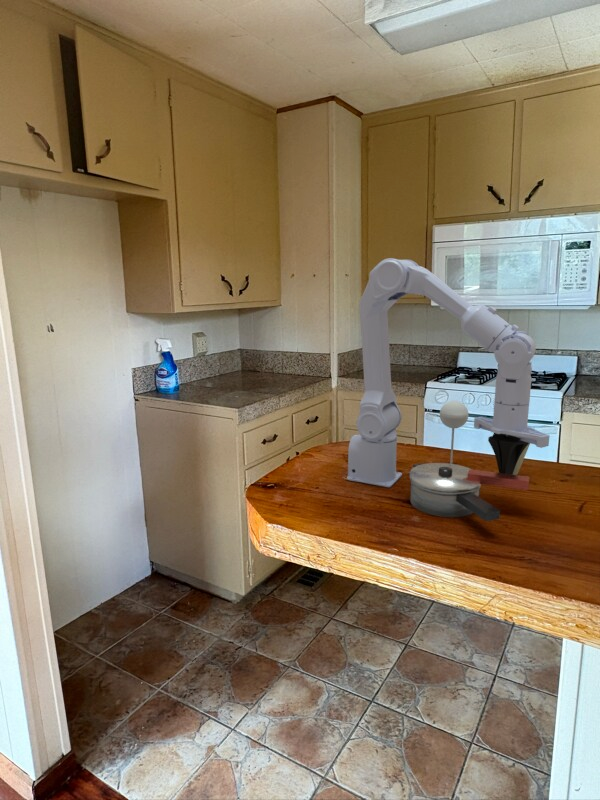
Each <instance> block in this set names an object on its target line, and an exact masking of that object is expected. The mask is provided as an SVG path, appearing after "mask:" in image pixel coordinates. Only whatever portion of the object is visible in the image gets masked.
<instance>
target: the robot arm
mask: <svg viewBox="0 0 600 800" xmlns="http://www.w3.org/2000/svg"><path fill="white" fill-rule="evenodd" d="M368 277H369V278H368V279H369V280H368V282H367V284H366V287H365V289H364V291H363V293H362V295H361V297H360V301H359V315H360V316H359V317H360V318H359V319H360V331H361V332H360V333H361V350H362V367H363V382H364V385H363V386H364V393H363V395H362V397H361V400H360V402H359V413H358V416H357V419H356V423H355V424H356V430H357V433H359V434H354V435H352V436H351V438H350V441H349V444H348V451H347V452H348V456H347V457H348V458H347V460H348V461H347V463H348V464H347V465H348V466H347V477H346V480H348V481H352V482H356V483H357V482H358V483H362V484H363V483H364V484H368V485H372V486H373V485H374V486H378V487H383V488H392V486H394V484H395V483H396V482H397V481H398V480H399V479H400V478H401V477H402V476H403V473H402V472H399V471H397V447H398V445H397V444H398V443H397V441H398V439H397V438H398V434H397V431H396V429H397V428H398V427H399V426H400V424H401V422H402V417H403V416H402V412H401V410H400V407H399V406H398V402H397V395H396V394H395V392H394V391H393V389H392V377H391V376H392V375H391V357H390V355H391V353H390V351H391V350H390V339H389V337H390V335H389V334H390V333H389V318H388V317H389V316H388V311H389V309H390V308H391V307H392V306H394V305H395V304H396V302H397V301H399V299H400V298H402V297H404V296H406V295H409V294H411V295H418V296H419V295H421V296H425V297H426V298H428V299H430V300H431V301H432V302H434V303H435V304H437V306H439V307H441V308H442V309H444V310H445V311H446V312H448V313H449V314H451V315H452V316H454V317H455V318H456V319H458V320H459V321H460V327H461V332H463V333H464V334H466V335H467V336H468V337H470V339H472V340H474V342H476V343H477V344H478V345H480V346H481V347H483V348H484V349H485V350H486V351H488V353H493V355H494V358H495V360H496V362H497V375H496V377H495V389H494V401H493V402H494V403H493V415H492V418H489V417H485V416H478V417H474V421H473V428H474V429H478V430H479V429H481V430H485V431H489V432H491V433H492V435H491V436H488V439H487V441H488V443H489V445H490V446H491V448H492V451H493V453H494V456H495V460H496V464H497V469H498V473H504V474H512V475H513V472H514V469H515V466H516V464H517V461H518V459H519V457H520V455H521V454H522V452H523V451H524V449H525V448H526V446H527V445H528V444H529V443H530V445H531V444H532V445H535V446H536V447H538V448H540V449H542V448H546V447H548V446H549V444H550V434H547V433H545V432H544V433H543V432H541V431H540V430H537V429H535V428H532V427H530V426H529V425H528V423H529V420H528V419H529V410H530V409H529V408H530V400H531V399H530V398H531V388H532V376H531V375H532V370H533V369H532V367H533V366H532V362H531V360H532V359H533V358H534V356H535V354H536V349H537V348H536V346H537V345H536V342H535V341H534V339H533V337H531V336H530V334H529V333H528V332H526V331H520V330H519V328H520V327H519V326H518V325H516V324H515V323H514V324H512V325H511V324H510V323H509V322H507V321H506V320H505V319H503V318H502V317H501V316H499V315H498V314H497V313H496V312H498V311H497V310H498V309H497V308H495V307H494V306H493V305H491V306H488V307H487V306H486V305H484V304H479V305H472V304H471V303H470V302H469V301H467V300H466V299H465V298H464V297H462V296H461V295H460V294H458V293H457V292H456V291H455V290H454V289H453V288H451V287H450V286H449V285H447V283H445V282H444V281H443V280H441V279H440V278H439V277H438V276H436V275H435V274H434V273H433V272H431V271H430V270H429V269H428V268H425V267H424V266H420V265H419V264H418V263H417V262H415V261H414V260H412V259H407V258H406V259H397V258H392V257H390V258H385V259H382V260H381V261H380V262H378V264H377V265H375V266H374V268H373V269H371V271H370V272H369V276H368ZM518 330H519V331H518Z"/></svg>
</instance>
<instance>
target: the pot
mask: <svg viewBox="0 0 600 800" xmlns="http://www.w3.org/2000/svg"><path fill="white" fill-rule="evenodd" d="M422 464H427V463H426V462H422V463H413V465H412V468H414V467H416V466H418V465H422ZM409 479H410V478H409ZM409 481H410V503H411V505H412V506H413V508H415V509H417V510H418V511H420V512H423V513H425V514H428V515H433V516H437V517H443V518H461V517H466V516H470V515H472V514H473V515H474V514H475V515H476V516H478V517H479V518H481V519H482V520H483V521H485V522H488V521H495V520H500V516H501V510H500V509H498V508H497V507H495V506H493V504H491V503H489V502H487V500H486V501H485V500H484V499H482V497H479V496H480V489H481V486H482V484H481V485H480V486H479V487H478V488H476V489H474V490H471V491H466V492H440V491H434V490H430V489H426V488H423V487H421V486H418V485H417V484H415V483H413V482H412V481H411V479H410V480H409Z"/></svg>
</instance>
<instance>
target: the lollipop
mask: <svg viewBox="0 0 600 800" xmlns="http://www.w3.org/2000/svg"><path fill="white" fill-rule="evenodd" d="M469 415H470V414H469V410H468V408H467V406H466V405H465V404H464V403H463V402H461V401H458V400H451V401H447V402H445V403H444V404H443V405H442V406H441V408H440V410H439V419H440V421H441V423H442V424H443V425H444V426H445V427H447V428H449V429H451V444H450V461H449V464H453V459H454V458H453V457H454V455H453V454H454V442H455V441H454V440H455V429H458V428H459V429H460V428H461V427H463V426H464V425H465V424H466V423H467V421H468V419H469Z"/></svg>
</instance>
